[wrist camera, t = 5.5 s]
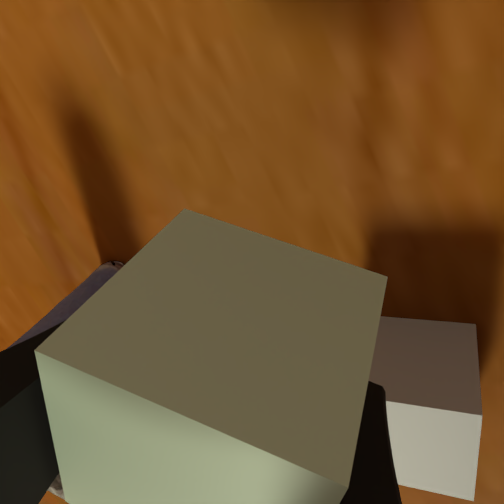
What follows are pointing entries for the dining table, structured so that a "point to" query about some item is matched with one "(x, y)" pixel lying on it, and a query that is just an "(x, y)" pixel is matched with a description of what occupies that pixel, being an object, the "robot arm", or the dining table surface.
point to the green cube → (213, 373)
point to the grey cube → (431, 402)
